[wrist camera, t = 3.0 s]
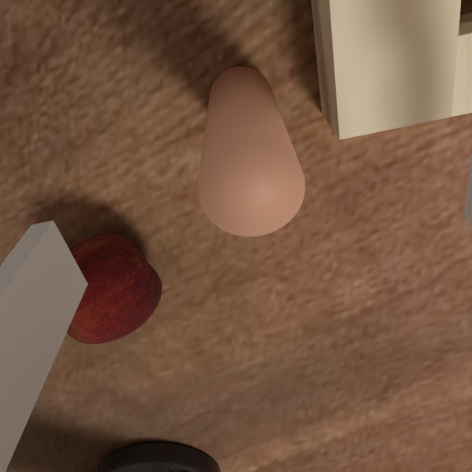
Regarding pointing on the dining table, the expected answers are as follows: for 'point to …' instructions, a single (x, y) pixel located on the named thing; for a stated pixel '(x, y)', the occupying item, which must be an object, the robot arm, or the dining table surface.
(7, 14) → the dining table surface
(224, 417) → the dining table surface
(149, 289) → the apple
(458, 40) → the socket block
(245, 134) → the peg
